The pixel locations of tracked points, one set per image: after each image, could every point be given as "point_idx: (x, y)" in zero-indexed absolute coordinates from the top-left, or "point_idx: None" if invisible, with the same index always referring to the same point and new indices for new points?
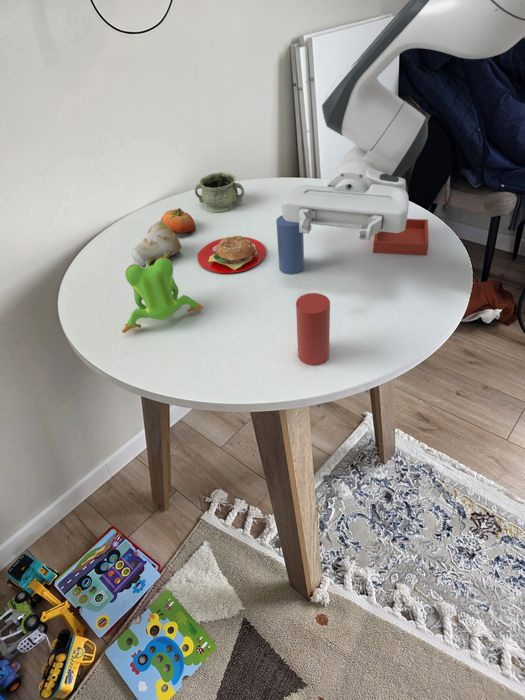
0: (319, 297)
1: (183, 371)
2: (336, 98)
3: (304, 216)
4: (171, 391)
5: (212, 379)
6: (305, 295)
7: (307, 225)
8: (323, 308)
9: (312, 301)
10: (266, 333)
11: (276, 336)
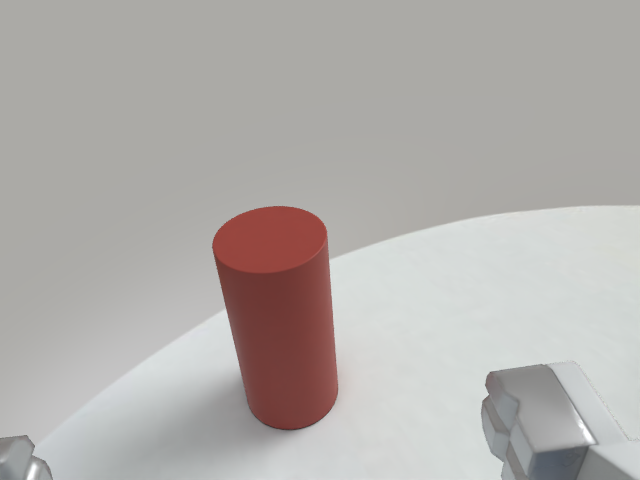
0: (256, 259)
1: (550, 251)
2: None
3: (636, 470)
4: (521, 217)
5: (475, 257)
6: (308, 252)
7: (496, 373)
8: (227, 228)
9: (273, 240)
10: (475, 416)
11: (437, 416)
